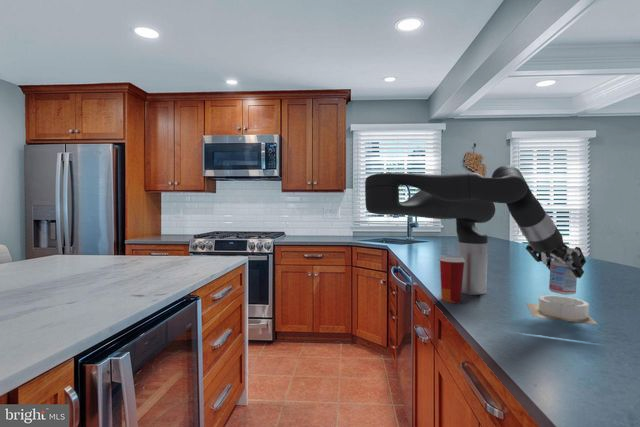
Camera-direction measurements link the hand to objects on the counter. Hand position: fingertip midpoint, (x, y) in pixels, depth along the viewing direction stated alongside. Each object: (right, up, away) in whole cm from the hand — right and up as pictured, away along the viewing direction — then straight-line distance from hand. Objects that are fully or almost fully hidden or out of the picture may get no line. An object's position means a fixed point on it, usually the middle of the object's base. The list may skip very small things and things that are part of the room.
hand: (567, 272), depth 96 cm
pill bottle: (-2, -5, 0) cm, 6 cm away
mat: (-2, -12, +1) cm, 12 cm away
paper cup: (-27, -11, +14) cm, 32 cm away
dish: (-1, -11, 0) cm, 11 cm away
